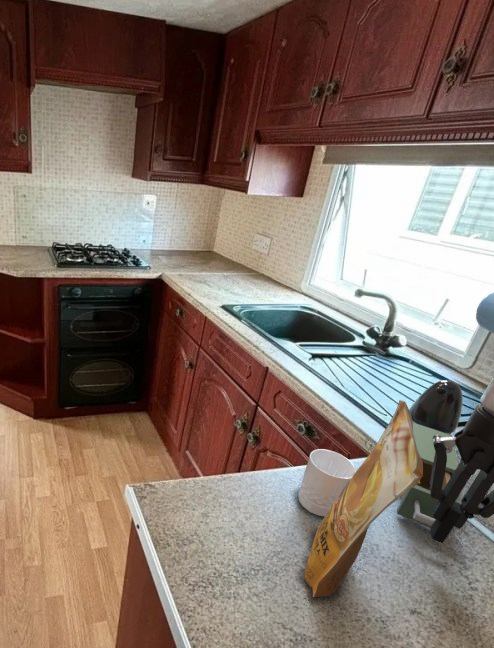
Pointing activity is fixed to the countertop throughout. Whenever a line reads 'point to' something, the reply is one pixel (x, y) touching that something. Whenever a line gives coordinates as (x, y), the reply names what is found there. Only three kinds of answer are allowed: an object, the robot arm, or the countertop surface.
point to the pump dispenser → (439, 407)
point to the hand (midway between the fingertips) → (436, 535)
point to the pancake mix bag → (364, 503)
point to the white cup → (324, 480)
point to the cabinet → (432, 447)
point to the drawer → (421, 499)
